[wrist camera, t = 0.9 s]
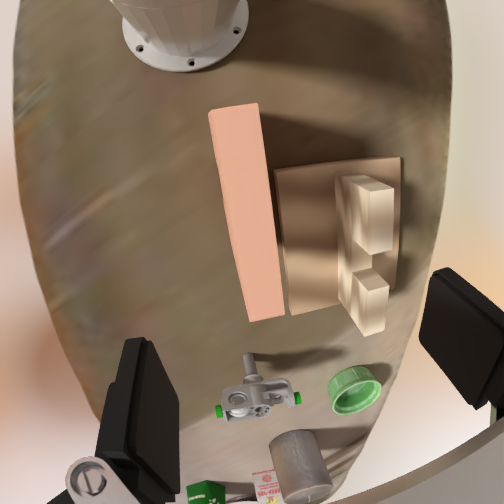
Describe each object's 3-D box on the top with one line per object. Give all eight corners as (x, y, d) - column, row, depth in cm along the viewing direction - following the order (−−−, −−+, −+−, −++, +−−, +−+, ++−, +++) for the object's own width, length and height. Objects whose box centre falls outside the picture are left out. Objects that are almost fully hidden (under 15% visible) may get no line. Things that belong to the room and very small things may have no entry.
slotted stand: (273, 169, 32) (299, 190, 24) (393, 155, 34) (444, 171, 25) (289, 308, 40) (310, 358, 32) (389, 283, 41) (425, 321, 33)
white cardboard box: (281, 473, 62) (289, 506, 53) (254, 478, 62) (260, 511, 53) (280, 468, 61) (288, 502, 52) (252, 473, 60) (258, 508, 51)
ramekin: (368, 354, 47) (379, 372, 43) (374, 382, 51) (384, 399, 47) (319, 378, 47) (327, 397, 44) (330, 403, 51) (338, 421, 47)
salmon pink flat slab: (207, 113, 29) (211, 109, 15) (232, 109, 29) (257, 102, 16) (230, 239, 35) (249, 321, 22) (252, 235, 35) (284, 314, 22)
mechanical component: (283, 358, 44) (301, 410, 35) (213, 369, 43) (219, 424, 34) (283, 343, 43) (302, 396, 34) (210, 354, 42) (215, 411, 33)
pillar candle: (274, 456, 57) (290, 513, 44) (263, 438, 53) (279, 503, 40) (317, 442, 58) (338, 498, 44) (311, 423, 53) (334, 486, 40)
